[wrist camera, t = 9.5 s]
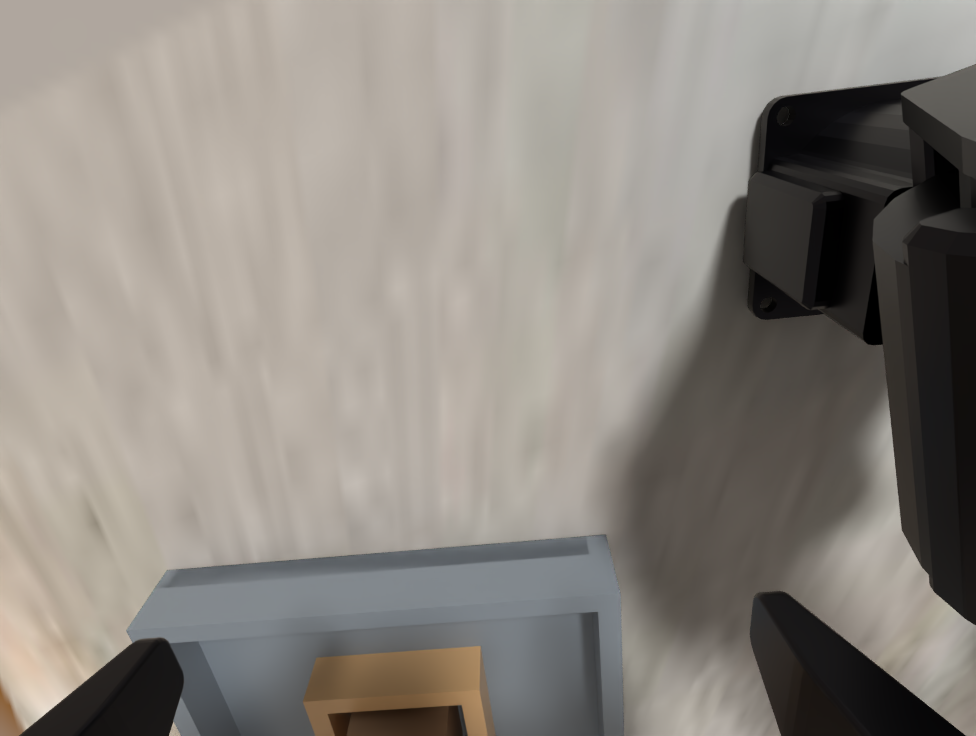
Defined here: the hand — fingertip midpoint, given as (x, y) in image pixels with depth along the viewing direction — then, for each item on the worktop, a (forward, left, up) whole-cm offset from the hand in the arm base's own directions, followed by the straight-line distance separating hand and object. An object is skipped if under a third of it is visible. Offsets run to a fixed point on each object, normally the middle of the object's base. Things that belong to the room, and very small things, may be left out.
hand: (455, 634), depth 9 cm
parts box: (+5, +17, -12) cm, 21 cm away
